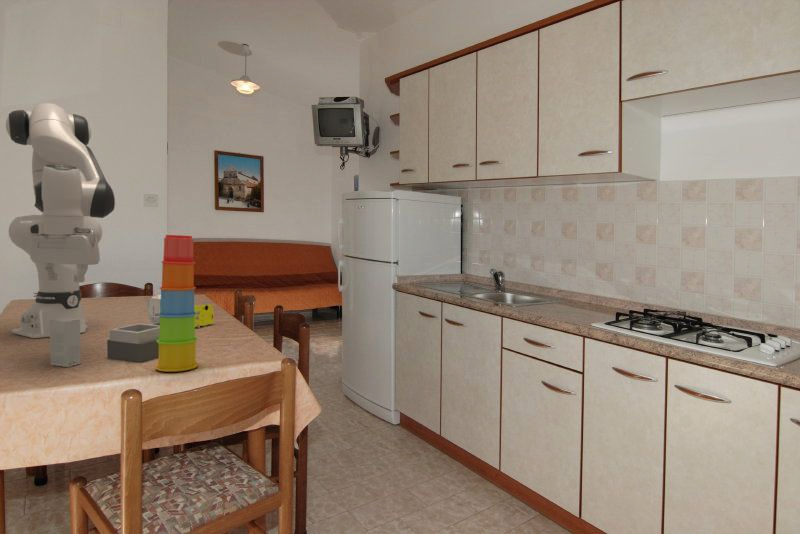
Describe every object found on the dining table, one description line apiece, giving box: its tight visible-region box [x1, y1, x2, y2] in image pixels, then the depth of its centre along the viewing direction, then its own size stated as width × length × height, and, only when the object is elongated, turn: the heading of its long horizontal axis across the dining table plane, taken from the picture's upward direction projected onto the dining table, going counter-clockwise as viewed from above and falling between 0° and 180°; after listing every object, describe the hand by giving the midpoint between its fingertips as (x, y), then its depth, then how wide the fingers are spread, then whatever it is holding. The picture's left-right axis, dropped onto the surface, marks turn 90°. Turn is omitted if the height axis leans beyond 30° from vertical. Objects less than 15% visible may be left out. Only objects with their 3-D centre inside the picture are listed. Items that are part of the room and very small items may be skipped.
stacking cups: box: [155, 234, 199, 373], centre depth 130 cm, size 10×10×35 cm
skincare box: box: [49, 318, 82, 368], centre depth 132 cm, size 6×4×12 cm
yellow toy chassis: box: [194, 303, 215, 329], centre depth 181 cm, size 16×6×8 cm, turn 152°
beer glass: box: [146, 295, 161, 326], centre depth 154 cm, size 7×7×15 cm
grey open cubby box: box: [106, 322, 160, 363], centre depth 142 cm, size 12×10×9 cm
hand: (65, 281), depth 131 cm, fingers open, 8 cm apart
